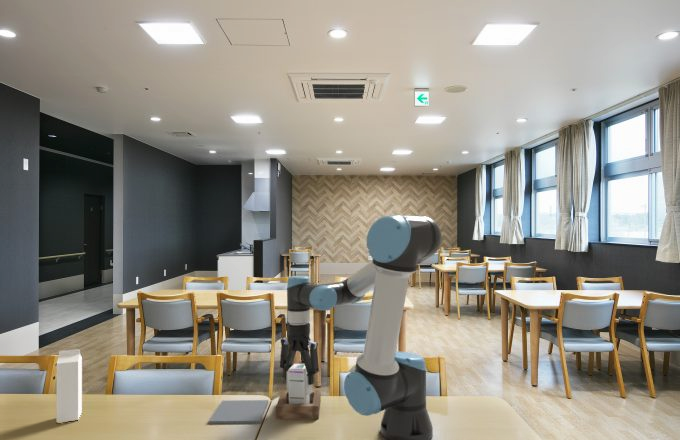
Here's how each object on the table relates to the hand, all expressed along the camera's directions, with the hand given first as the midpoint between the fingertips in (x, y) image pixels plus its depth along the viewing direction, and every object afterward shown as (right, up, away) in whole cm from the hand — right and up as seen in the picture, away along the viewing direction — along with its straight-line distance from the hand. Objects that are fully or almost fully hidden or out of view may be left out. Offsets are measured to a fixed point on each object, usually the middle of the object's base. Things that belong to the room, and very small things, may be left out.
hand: (299, 391), depth 145 cm
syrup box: (0, -6, 0) cm, 6 cm away
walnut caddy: (0, -6, 0) cm, 6 cm away
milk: (-73, -7, -5) cm, 74 cm away
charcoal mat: (-19, -6, -2) cm, 20 cm away
